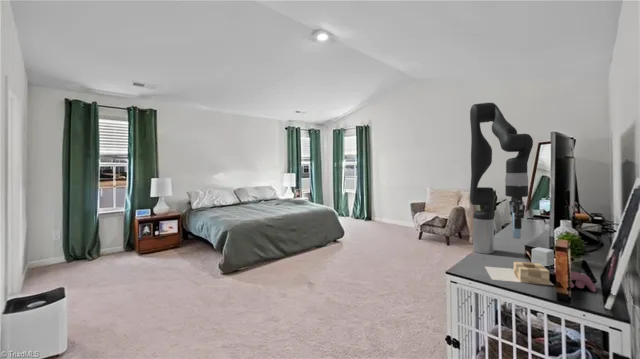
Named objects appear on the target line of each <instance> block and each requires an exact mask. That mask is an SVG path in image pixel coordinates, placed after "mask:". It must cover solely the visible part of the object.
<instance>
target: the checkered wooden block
mask: <svg viewBox="0 0 640 359" xmlns="http://www.w3.org/2000/svg"><path fill="white" fill-rule="evenodd" d="M513 269H514V275H515V276H516V277H517V278H518V280H519V281H520V282H519V283H524V282H525V283H527V284H534V283H536V284H537V285H545V284H547V286H550V285H549V281H550V270H548V268H545V267H544V266H542V265H541V264H540V263H531V262H527V261H526V262H525V261H513ZM536 284H535V285H536Z"/></svg>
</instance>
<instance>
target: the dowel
mask: <svg viewBox="0 0 640 359" xmlns="http://www.w3.org/2000/svg"><path fill="white" fill-rule="evenodd" d="M515 211H516V210H515ZM518 215H520V214H518ZM521 229H522V228H521ZM521 229H516V228H514V213H513V226H512V238H513V239H515V240H517V239H518V240H521V238H522V237H521V236H522V235H521V234H522V233H521V231H522V230H521Z"/></svg>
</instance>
